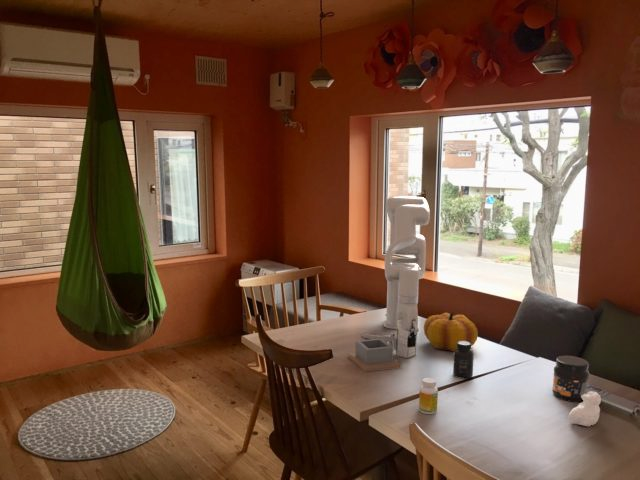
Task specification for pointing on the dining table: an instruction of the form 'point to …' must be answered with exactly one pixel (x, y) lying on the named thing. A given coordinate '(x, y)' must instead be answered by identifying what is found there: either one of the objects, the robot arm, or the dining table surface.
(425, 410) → the supplement bottle
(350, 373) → the dining table surface
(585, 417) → the bust
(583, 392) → the supplement container
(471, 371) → the supplement bottle
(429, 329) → the decorative pumpkin
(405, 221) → the robot arm
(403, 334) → the syrup box
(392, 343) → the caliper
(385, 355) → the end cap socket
